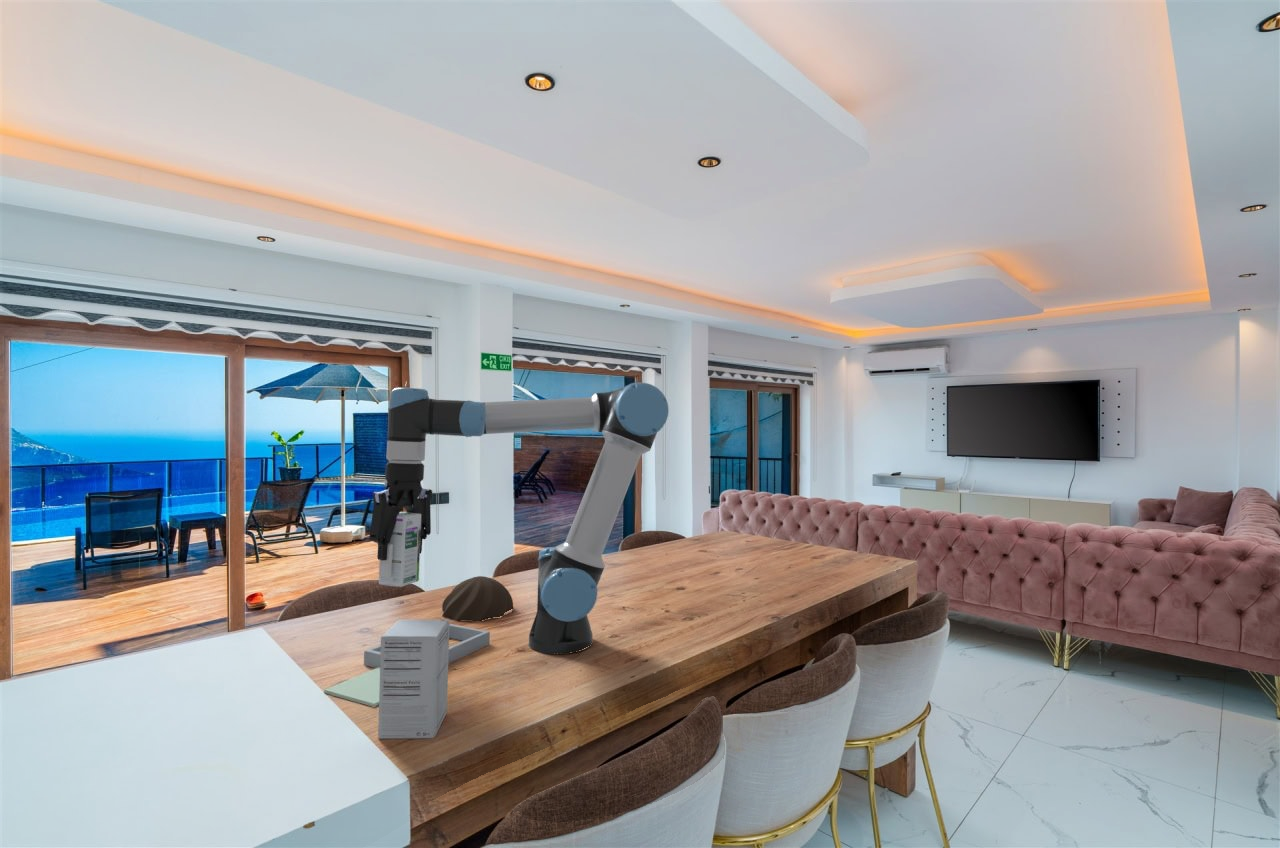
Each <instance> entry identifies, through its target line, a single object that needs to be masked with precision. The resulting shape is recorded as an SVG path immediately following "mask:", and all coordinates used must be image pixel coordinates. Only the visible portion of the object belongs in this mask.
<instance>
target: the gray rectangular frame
mask: <svg viewBox="0 0 1280 848" xmlns="http://www.w3.org/2000/svg"><path fill="white" fill-rule="evenodd" d="M490 633H491V632H490V631H489V630H484V629H479V628H478V629H477V628H473V627H468V626H463V625H459V624H458V625H457V624H452V623H450V625H449V639H452V640H458V641H460V642H458V643H455V644H453V645H451V646H449V654H448V664H450V663H452V662H454V661H457V660H459V659H461V658H464V657H465V656H467V655H469V654H472V653H474V652H476V651H477V650H480V649H482V648H484V647H486V646H489V645H490V641H491V640H490V636H491V635H490ZM363 651H364V652H363V665H364V666H367V667H371V668H374V669H376V668H378V667H380V656H381V644H379V645H376V646H374V647H371V648H368V649H365V650H363Z"/></svg>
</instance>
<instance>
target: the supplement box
mask: <svg viewBox="0 0 1280 848" xmlns="http://www.w3.org/2000/svg"><path fill="white" fill-rule="evenodd" d="M450 624H451V623H450V619H414V618H413V619H409V618H406V619H398V620H397V621H396V622H395V623H394V624H392V626H391V627H390V628H389V629H388V630H386V632H385V633H384V634H383V635H382V636H380V645H381V656H380V691H379V705H378V724H377V725H378V728H377V729H378V730H377V731H378V732H377V733H378V734H377V739H378V740H380V739H381V740H385V739H387V740H389V739H390V740H392V739H393V740H394V739H396V740H397V739H402V740H403V739H434V738H435V737H436V736H437V733H438V732H439V730H440V727H441V725H442V723H443V721H444V720H445V717H446V715H447V713H448V712H447V711H448V687H449V685H448V683H449V681H448V680H449V663H448V654H449V647H450V646H449V645H450V638H449V625H450Z"/></svg>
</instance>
